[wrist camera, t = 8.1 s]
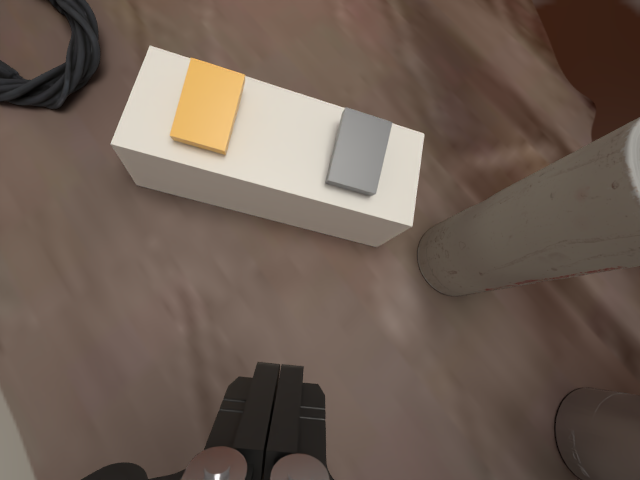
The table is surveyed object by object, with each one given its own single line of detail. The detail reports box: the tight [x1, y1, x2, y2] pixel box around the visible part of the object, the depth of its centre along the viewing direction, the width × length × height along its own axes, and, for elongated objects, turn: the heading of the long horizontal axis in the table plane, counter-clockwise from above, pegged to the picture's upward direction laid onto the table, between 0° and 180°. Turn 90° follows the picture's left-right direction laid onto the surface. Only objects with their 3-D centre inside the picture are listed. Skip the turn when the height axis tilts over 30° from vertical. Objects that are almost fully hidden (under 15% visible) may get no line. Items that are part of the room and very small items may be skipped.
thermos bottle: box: [418, 118, 640, 296], centre depth 27 cm, size 8×8×28 cm
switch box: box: [111, 46, 424, 247], centre depth 34 cm, size 24×9×8 cm, turn 79°
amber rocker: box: [170, 58, 245, 155], centre depth 28 cm, size 4×6×2 cm, turn 169°
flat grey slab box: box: [325, 108, 393, 196], centre depth 30 cm, size 4×6×2 cm, turn 169°
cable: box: [0, 0, 100, 109], centre depth 34 cm, size 17×14×4 cm
